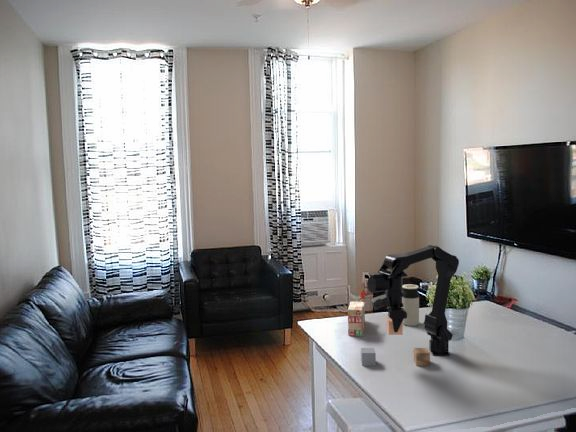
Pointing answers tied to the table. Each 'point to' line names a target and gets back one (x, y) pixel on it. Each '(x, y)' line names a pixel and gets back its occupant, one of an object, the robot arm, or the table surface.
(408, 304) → the travel mug
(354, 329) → the stack of blocks
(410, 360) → the table surface
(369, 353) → the grey cube
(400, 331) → the terracotta cube
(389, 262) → the robot arm
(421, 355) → the walnut cube
